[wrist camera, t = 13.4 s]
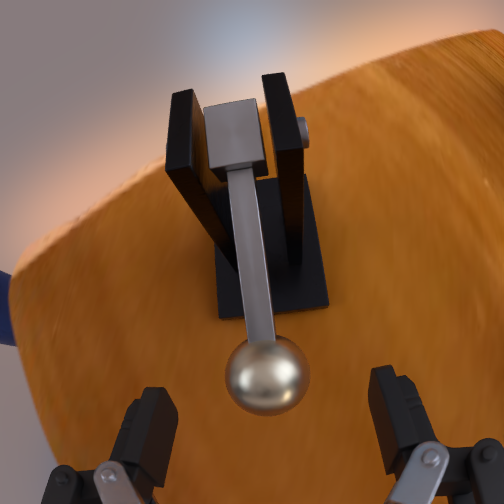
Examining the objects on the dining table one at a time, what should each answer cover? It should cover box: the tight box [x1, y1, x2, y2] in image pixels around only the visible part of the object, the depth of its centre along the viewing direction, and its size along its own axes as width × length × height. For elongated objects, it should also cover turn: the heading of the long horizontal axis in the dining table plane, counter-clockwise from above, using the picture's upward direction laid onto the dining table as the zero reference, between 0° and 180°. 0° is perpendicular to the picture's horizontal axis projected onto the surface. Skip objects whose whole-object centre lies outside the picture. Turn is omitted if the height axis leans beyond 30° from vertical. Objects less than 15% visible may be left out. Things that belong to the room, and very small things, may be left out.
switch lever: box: [203, 98, 310, 416], centre depth 13 cm, size 13×4×4 cm, turn 5°
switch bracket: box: [165, 72, 329, 320], centre depth 18 cm, size 11×8×15 cm
